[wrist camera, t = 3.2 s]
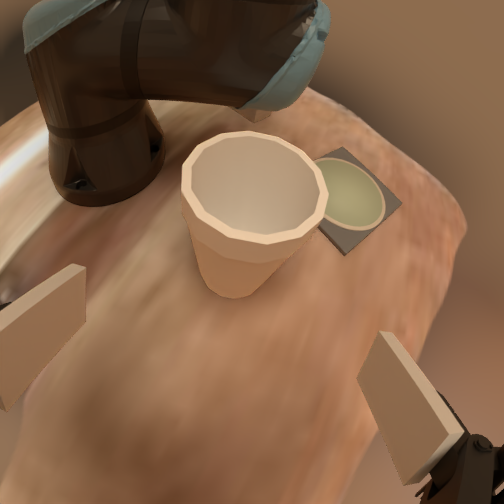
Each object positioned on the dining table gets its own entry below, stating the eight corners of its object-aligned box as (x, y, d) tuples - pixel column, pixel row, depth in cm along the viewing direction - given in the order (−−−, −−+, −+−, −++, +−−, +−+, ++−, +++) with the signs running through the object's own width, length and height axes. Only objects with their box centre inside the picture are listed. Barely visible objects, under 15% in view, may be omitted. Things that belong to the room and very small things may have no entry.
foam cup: (295, 260, 31) (347, 177, 20) (247, 333, 27) (287, 275, 16) (220, 213, 33) (236, 115, 22) (164, 276, 28) (148, 186, 17)
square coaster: (273, 183, 36) (275, 179, 35) (341, 148, 42) (343, 145, 41) (344, 256, 33) (347, 252, 32) (400, 205, 39) (403, 202, 38)
